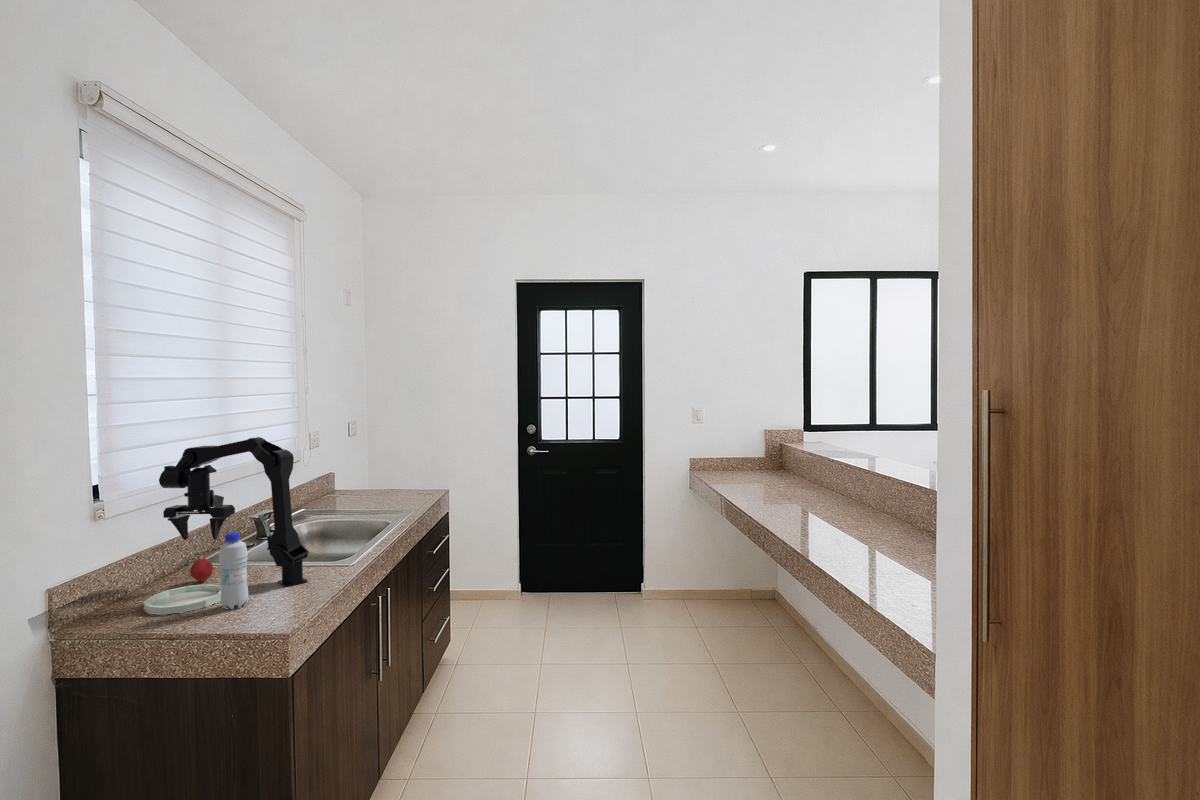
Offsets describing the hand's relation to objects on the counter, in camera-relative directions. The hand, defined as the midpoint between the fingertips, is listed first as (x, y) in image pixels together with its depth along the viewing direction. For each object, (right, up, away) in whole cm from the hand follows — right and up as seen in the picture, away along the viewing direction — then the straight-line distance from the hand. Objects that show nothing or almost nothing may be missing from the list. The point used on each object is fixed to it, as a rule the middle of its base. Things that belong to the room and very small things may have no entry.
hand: (200, 539), depth 185 cm
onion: (0, -13, 0) cm, 13 cm away
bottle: (+23, -13, -21) cm, 34 cm away
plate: (+7, -13, -17) cm, 23 cm away
